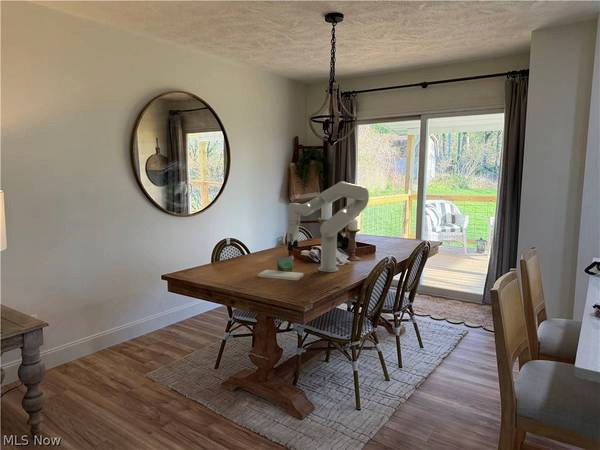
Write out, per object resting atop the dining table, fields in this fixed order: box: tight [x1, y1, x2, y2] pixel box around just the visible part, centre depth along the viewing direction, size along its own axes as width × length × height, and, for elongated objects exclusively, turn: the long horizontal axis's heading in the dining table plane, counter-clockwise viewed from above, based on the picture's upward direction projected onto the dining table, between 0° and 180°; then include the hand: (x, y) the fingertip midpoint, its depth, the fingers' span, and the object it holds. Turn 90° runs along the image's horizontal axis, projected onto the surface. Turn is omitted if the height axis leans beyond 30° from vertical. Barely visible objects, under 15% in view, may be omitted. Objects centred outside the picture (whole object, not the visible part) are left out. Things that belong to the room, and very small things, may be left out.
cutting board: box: [258, 269, 305, 281], centre depth 240 cm, size 12×24×2 cm, turn 71°
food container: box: [275, 254, 295, 272], centre depth 248 cm, size 12×6×10 cm, turn 129°
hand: (292, 249), depth 259 cm, fingers open, 9 cm apart
